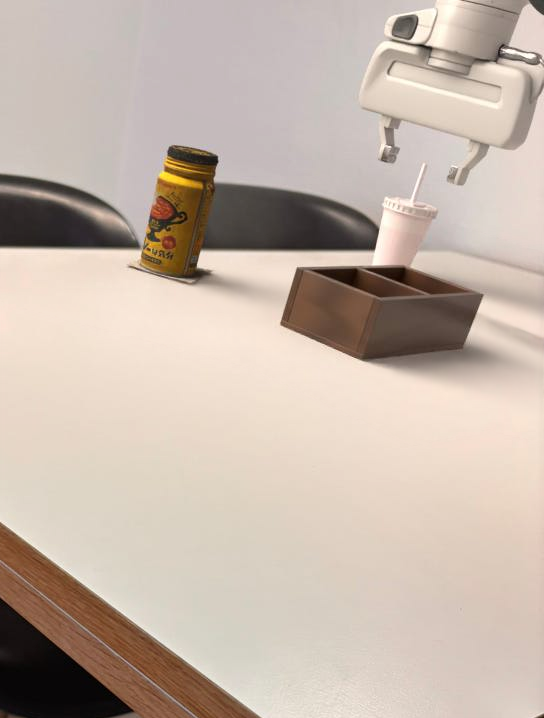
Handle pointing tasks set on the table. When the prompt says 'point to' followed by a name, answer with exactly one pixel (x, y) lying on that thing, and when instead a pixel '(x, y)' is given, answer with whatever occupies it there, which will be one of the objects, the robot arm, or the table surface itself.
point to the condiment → (179, 215)
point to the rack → (379, 310)
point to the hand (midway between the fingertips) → (419, 172)
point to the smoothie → (403, 227)
